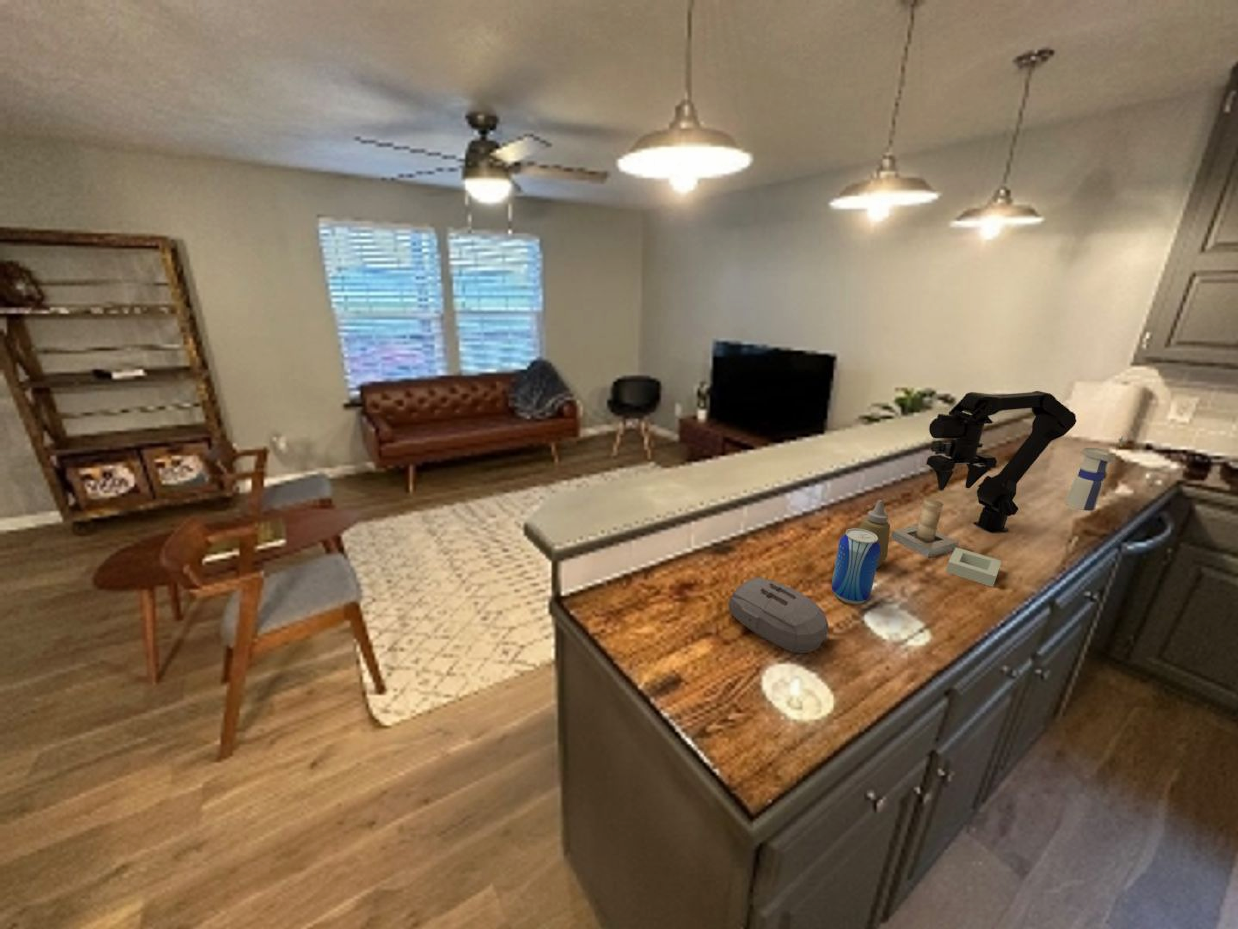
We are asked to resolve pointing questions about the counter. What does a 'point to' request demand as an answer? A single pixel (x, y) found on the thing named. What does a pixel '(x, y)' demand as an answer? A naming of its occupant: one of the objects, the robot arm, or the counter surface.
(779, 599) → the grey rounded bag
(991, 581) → the collar
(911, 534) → the socket block
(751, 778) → the counter surface
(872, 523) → the squeeze bottle
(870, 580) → the beer can
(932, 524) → the tan rounded peg
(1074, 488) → the water bottle
